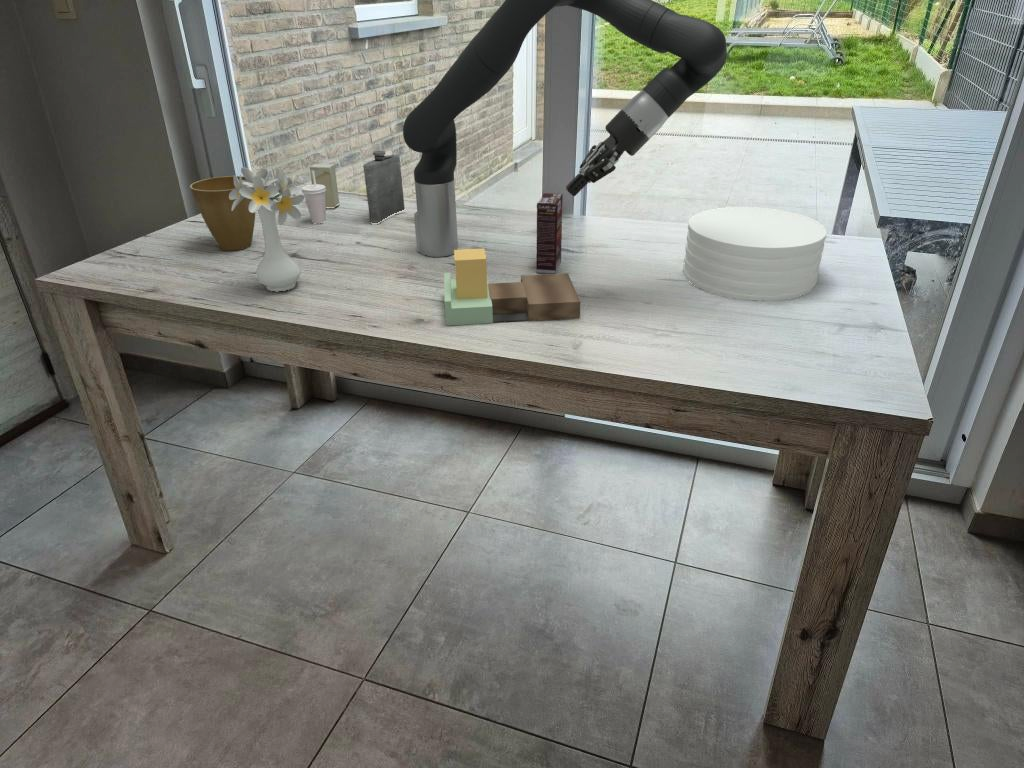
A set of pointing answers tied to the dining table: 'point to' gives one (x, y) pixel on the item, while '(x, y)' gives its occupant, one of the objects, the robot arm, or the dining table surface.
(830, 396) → the dining table surface
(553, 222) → the supplement box
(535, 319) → the board
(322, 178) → the skincare box
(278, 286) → the flower vase
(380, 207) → the flask
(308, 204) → the smoothie
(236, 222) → the plant pot
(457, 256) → the block
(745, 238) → the plate stack
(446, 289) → the pale green stepped block
